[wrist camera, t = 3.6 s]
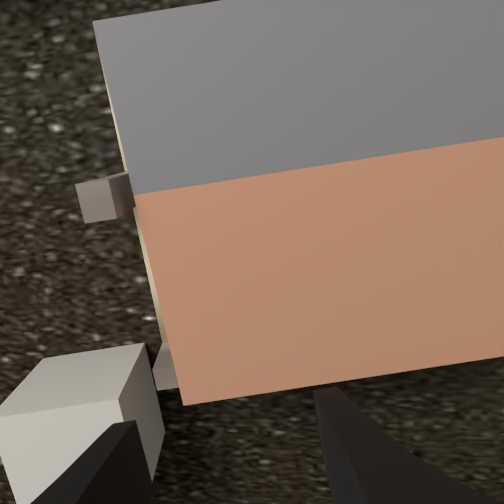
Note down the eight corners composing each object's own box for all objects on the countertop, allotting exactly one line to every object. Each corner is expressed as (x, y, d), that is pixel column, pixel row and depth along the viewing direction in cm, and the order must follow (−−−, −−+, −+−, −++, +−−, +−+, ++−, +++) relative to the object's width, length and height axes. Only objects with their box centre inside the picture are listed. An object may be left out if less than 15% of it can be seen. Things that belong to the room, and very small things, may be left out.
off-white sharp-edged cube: (165, 430, 23) (145, 507, 18) (69, 445, 23) (24, 526, 18) (144, 341, 22) (118, 398, 17) (43, 357, 22) (-12, 419, 17)
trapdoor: (463, 319, 19) (503, 356, 17) (190, 361, 20) (183, 405, 17) (463, -19, 15) (515, -48, 12) (117, 37, 15) (92, 21, 13)
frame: (472, 320, 22) (567, 391, 16) (169, 367, 22) (142, 456, 16) (459, -18, 18) (575, -103, 12) (98, 40, 18) (26, -14, 12)
